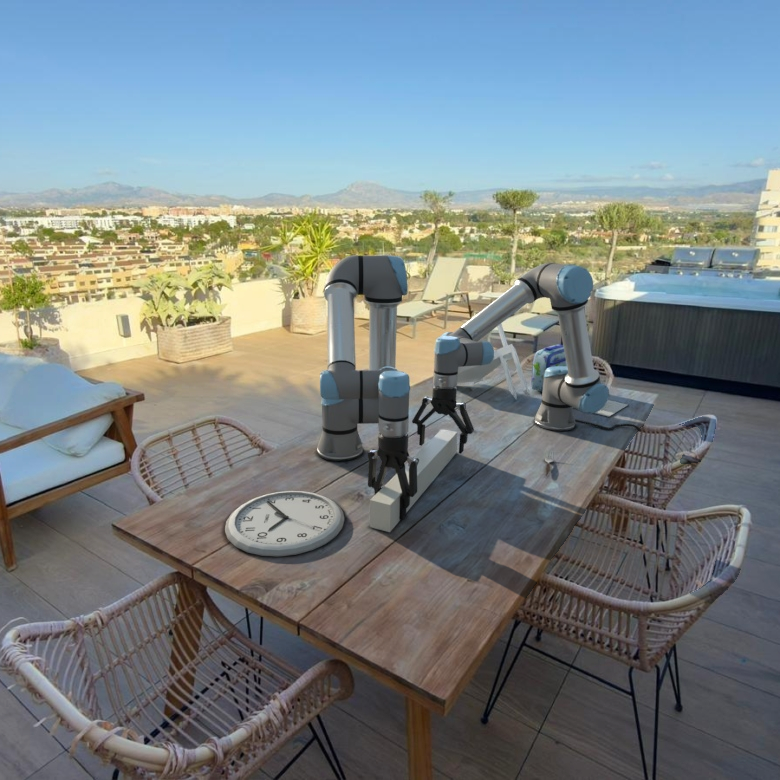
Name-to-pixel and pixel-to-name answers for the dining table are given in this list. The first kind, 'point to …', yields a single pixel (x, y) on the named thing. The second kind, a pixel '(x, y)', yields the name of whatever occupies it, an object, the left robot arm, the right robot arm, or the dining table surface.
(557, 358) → the lunch box
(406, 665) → the dining table surface
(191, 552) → the dining table surface
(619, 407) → the invitation card
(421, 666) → the dining table surface
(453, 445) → the beam
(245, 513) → the wall clock
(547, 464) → the fork
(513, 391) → the white plastic object
